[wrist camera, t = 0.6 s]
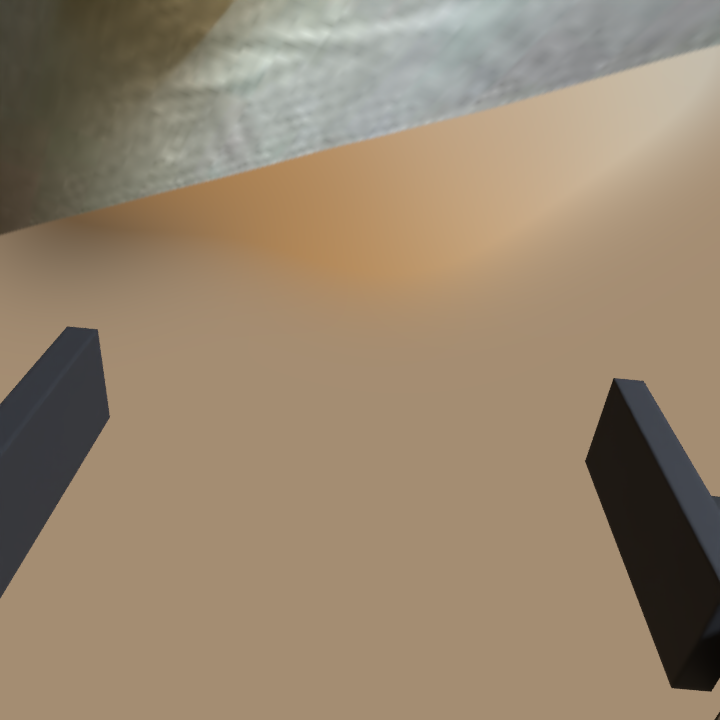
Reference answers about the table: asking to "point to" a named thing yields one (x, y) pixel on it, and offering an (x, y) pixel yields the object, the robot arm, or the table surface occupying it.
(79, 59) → the table surface
